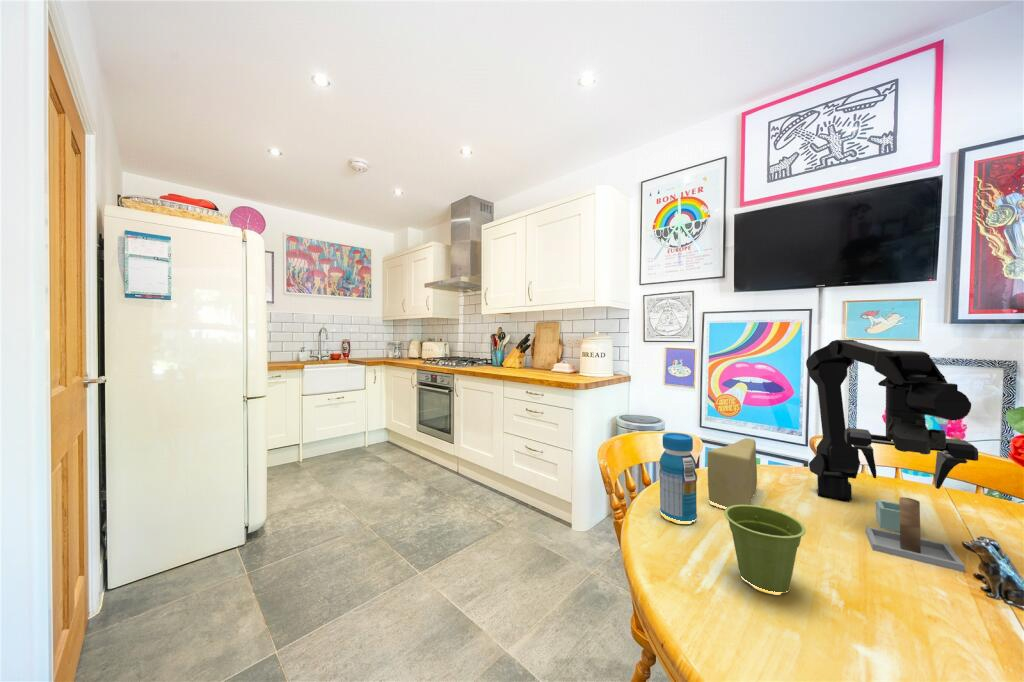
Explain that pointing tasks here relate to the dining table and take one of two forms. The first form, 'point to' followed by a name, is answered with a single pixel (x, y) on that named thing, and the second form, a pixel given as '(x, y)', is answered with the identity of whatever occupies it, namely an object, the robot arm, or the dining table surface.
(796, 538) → the plant pot
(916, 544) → the dowel
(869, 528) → the tray
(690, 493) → the beverage bottle
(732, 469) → the cheese
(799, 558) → the dining table surface
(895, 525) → the open box
